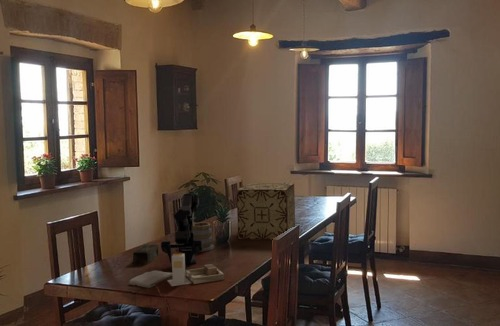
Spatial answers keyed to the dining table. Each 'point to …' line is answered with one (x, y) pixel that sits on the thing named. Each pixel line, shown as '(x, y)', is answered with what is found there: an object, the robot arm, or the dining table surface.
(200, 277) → the tray
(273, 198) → the decorative box
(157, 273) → the washcloth
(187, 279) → the coaster
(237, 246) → the dining table surface
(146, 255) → the beverage carton
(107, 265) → the dining table surface
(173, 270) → the cream box
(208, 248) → the tankard
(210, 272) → the walnut box
